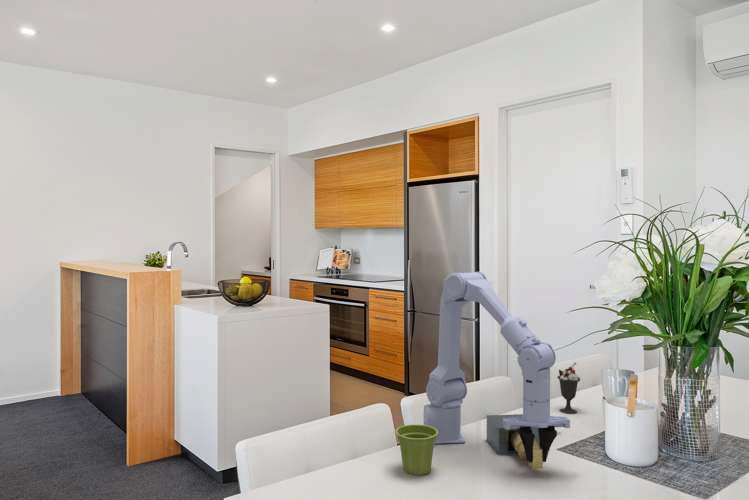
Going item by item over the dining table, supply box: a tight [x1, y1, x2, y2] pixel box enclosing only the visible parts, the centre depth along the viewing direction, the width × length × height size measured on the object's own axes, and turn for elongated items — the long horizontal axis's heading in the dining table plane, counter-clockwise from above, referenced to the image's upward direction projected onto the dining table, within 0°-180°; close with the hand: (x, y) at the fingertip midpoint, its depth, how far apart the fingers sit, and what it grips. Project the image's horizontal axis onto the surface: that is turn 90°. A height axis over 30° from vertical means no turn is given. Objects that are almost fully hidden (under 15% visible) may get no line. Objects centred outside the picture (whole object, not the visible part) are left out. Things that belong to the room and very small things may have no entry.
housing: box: [486, 413, 539, 456], centre depth 135 cm, size 10×10×6 cm
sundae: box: [556, 362, 581, 415], centre depth 165 cm, size 7×7×15 cm
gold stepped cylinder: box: [508, 430, 544, 469], centre depth 126 cm, size 5×13×5 cm, turn 5°
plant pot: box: [395, 424, 438, 476], centre depth 121 cm, size 9×9×9 cm
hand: (536, 460), depth 120 cm, fingers closed on gold stepped cylinder, 2 cm apart
